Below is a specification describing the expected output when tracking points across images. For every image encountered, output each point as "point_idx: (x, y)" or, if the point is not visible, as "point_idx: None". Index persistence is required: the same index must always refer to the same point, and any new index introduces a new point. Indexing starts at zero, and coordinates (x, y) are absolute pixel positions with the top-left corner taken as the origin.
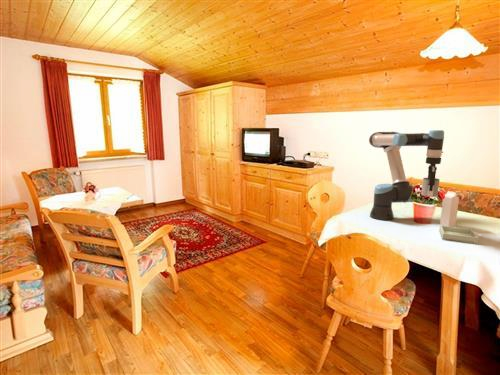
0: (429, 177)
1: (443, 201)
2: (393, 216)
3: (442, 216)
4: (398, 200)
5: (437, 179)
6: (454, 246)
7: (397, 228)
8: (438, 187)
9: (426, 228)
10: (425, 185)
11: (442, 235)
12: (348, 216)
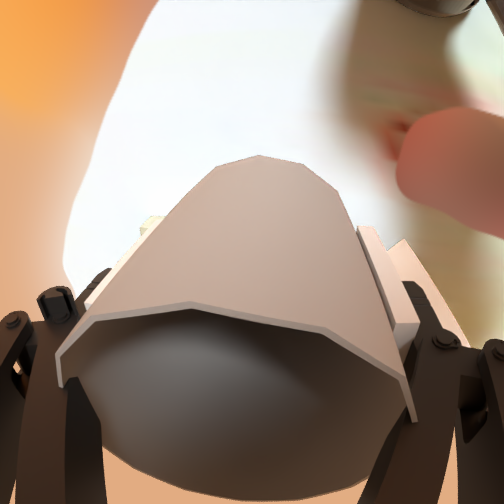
0: (391, 447)
1: (447, 319)
2: (426, 10)
3: (410, 266)
4: (492, 13)
5: (304, 485)
6: (97, 246)
7: (226, 21)
8: (247, 393)
9: (300, 163)
10: (133, 255)
11: (150, 222)
12: None
